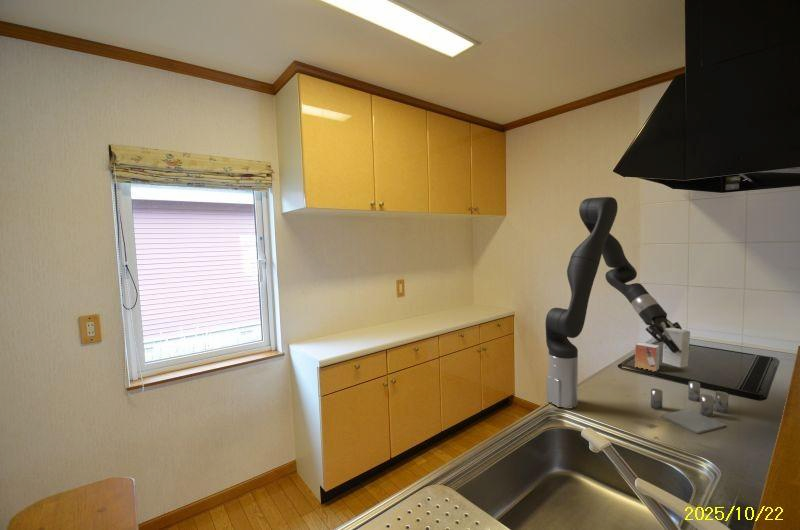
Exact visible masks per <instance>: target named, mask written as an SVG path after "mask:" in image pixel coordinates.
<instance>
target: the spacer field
mask: <svg viewBox="0 0 800 530" xmlns="http://www.w3.org/2000/svg"><path fill="white" fill-rule="evenodd" d="M687 390H688V391H687V397H688V400H689V401H691V402H698V403H699V402H700V409H699V411H700V413H699V414H701V415H703V416H706V417H708V418H713V417H714V411H716V412H718V413H721V414H728V413H729V397H730V396H729V395H730V394H729V393H727V392H725V391H722V390H721V391H720V390H718V391H717V390H716V391H715V394H714V395H715V397H714V396H712V395H710V394H707V393H706V394H703V393H702V394H701V383H700V382H698V381H695V380H694V381H693V380H690V381H688V389H687ZM663 394H664V393H663V390H662V389H658V388H650V408H651V409H652V410H655V411H656V410H657V411H662V410H663V399H664V398H663V397H664V396H663ZM714 398H715V399H714ZM714 402H715V403H714ZM714 404H715V405H714ZM714 409H715V410H714Z"/></svg>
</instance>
